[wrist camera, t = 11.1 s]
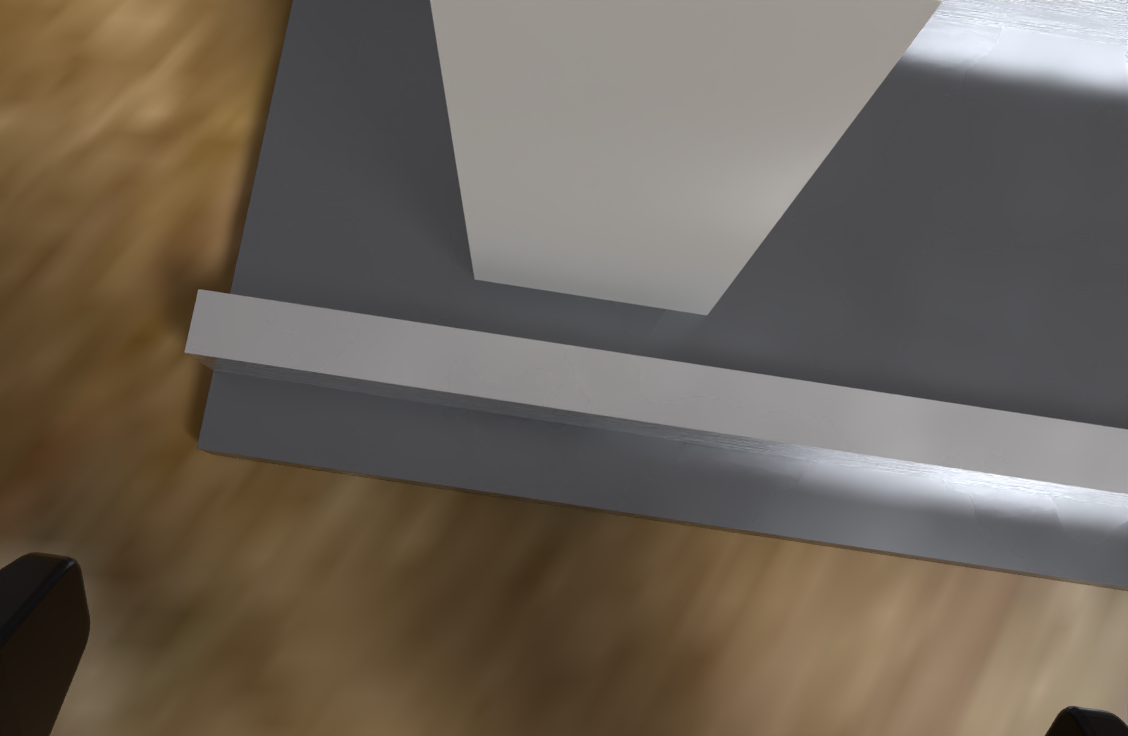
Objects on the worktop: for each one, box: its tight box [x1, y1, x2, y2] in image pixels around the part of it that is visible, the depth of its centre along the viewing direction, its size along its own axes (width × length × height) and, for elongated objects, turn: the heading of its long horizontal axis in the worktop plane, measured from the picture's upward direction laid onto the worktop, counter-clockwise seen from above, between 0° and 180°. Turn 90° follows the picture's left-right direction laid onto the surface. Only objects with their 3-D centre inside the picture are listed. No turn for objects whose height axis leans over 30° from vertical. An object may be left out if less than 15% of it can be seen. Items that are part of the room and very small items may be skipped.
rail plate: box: [184, 0, 1128, 591], centre depth 18 cm, size 20×12×2 cm, turn 82°
